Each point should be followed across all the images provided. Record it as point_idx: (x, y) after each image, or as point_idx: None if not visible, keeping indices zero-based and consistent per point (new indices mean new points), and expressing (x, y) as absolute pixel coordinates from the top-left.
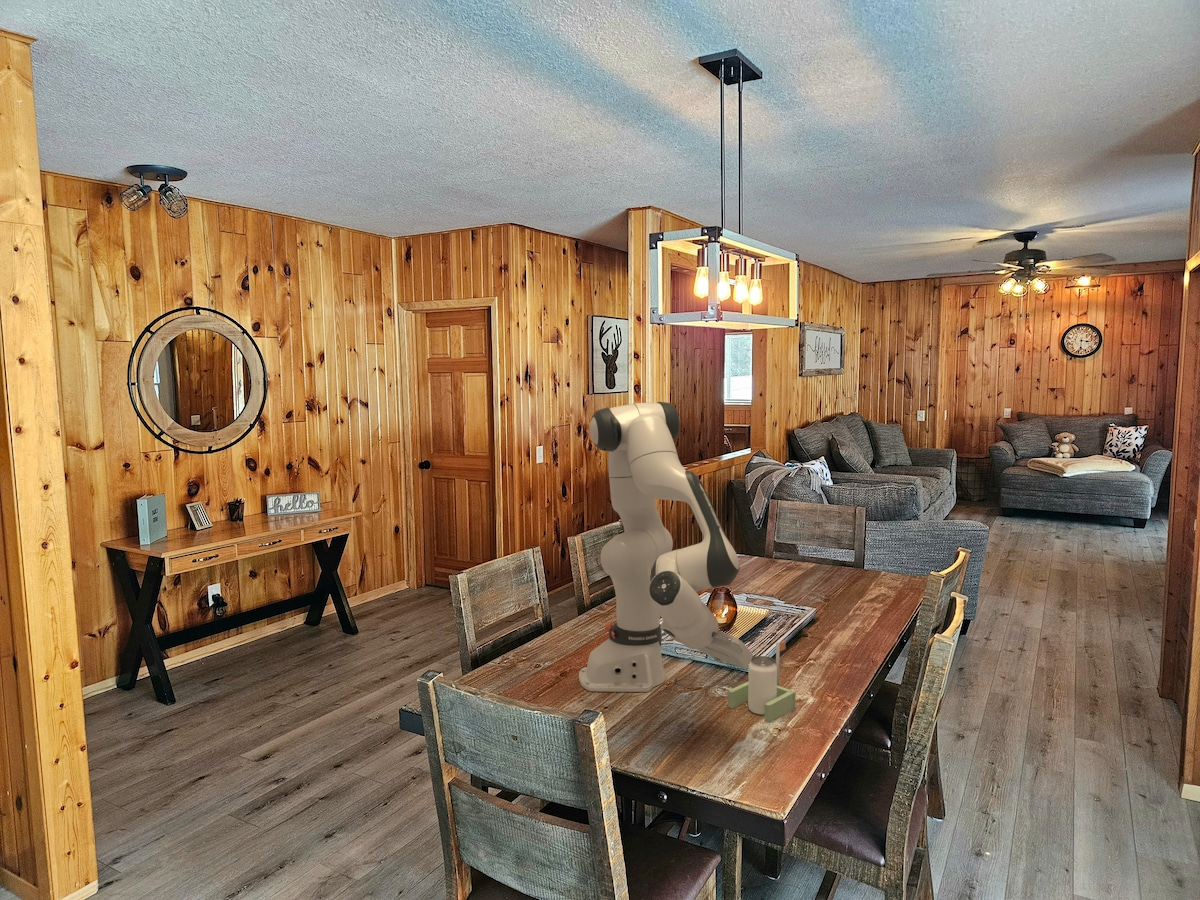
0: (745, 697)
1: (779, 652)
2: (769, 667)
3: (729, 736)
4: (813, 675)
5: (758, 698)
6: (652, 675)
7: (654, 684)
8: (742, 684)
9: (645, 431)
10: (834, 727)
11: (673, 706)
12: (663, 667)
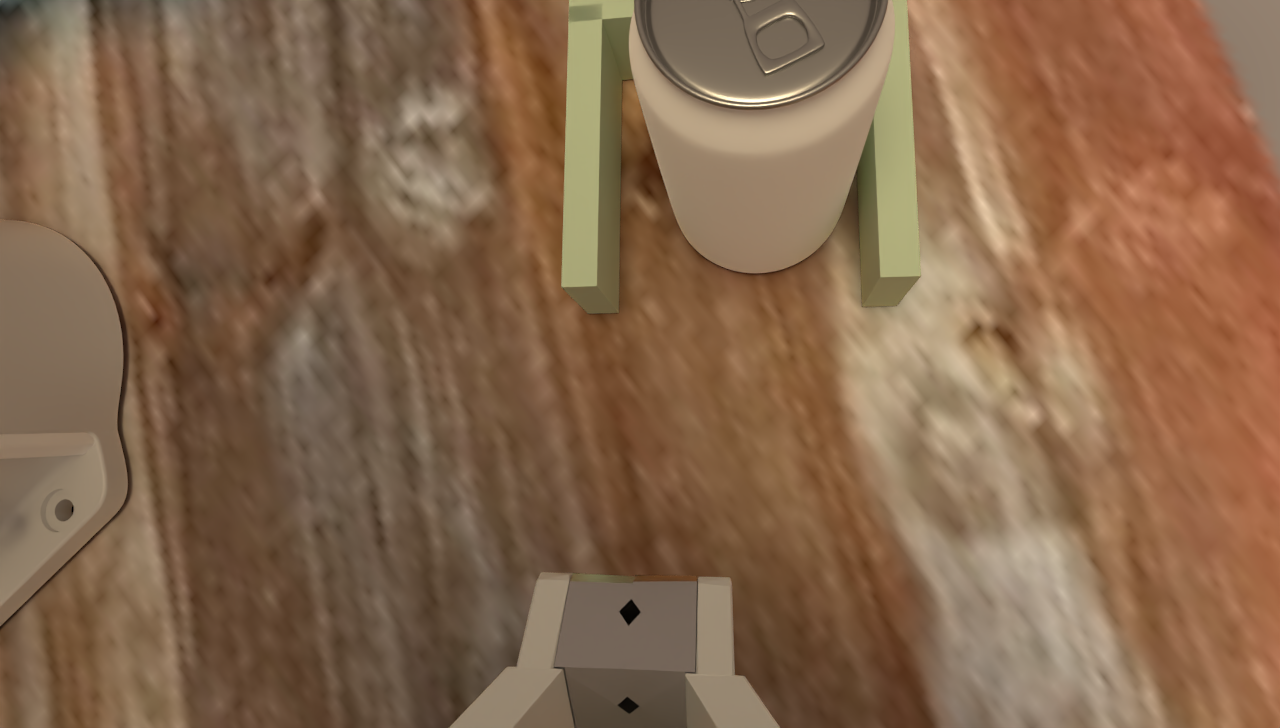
0: (616, 172)
1: None
2: (877, 43)
3: (842, 635)
4: None
5: (791, 235)
6: (44, 422)
7: (106, 414)
8: (570, 134)
9: None
10: (1221, 66)
11: (348, 541)
12: (28, 259)
